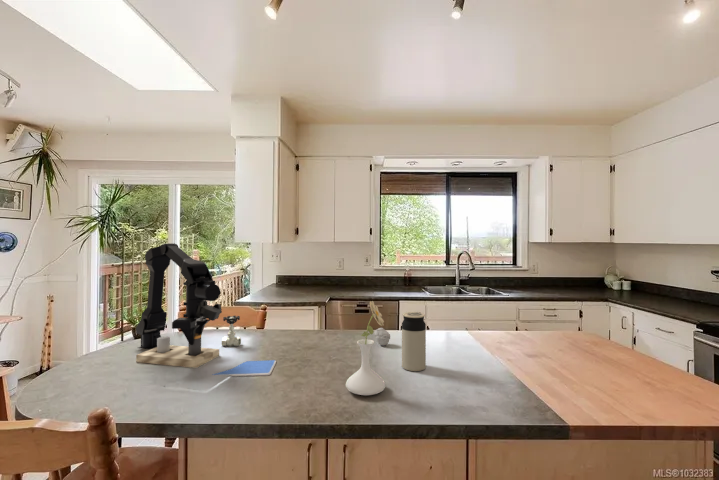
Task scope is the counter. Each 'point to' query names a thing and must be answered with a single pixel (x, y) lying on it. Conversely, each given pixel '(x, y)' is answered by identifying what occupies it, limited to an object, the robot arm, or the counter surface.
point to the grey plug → (163, 344)
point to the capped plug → (195, 346)
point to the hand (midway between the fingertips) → (194, 342)
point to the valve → (231, 333)
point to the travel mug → (413, 341)
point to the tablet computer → (251, 369)
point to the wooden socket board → (177, 357)
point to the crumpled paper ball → (382, 336)
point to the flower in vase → (367, 364)
